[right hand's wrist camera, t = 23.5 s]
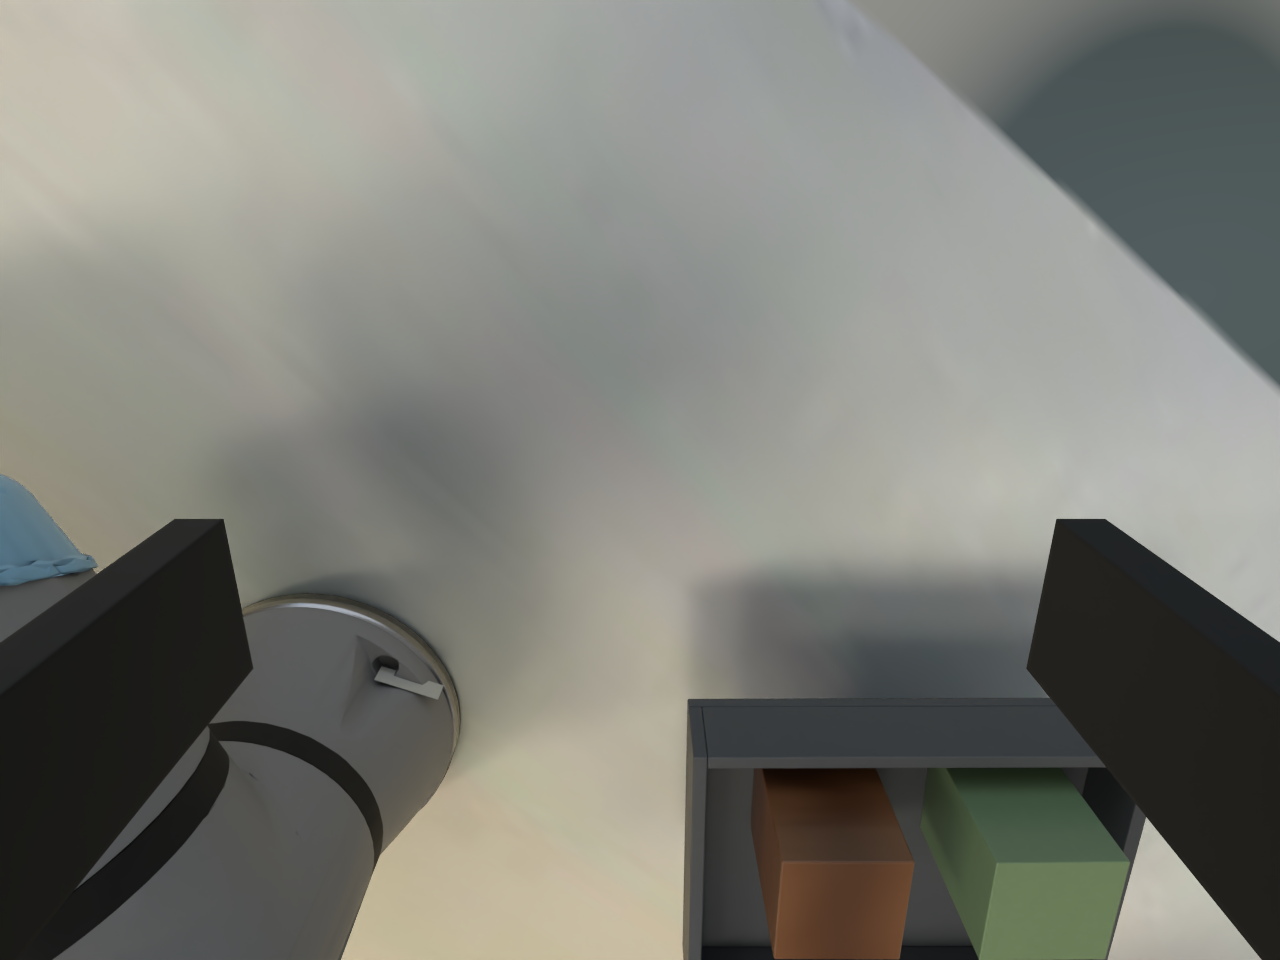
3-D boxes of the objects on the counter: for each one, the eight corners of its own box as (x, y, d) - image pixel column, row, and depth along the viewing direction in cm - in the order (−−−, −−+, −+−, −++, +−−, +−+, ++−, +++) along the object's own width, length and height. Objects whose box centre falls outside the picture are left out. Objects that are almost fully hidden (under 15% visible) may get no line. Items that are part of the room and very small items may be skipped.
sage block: (919, 827, 38) (979, 961, 31) (931, 740, 36) (996, 863, 29) (1024, 826, 38) (1105, 960, 31) (1040, 739, 36) (1131, 862, 29)
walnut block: (750, 825, 38) (773, 960, 31) (755, 739, 36) (781, 862, 29) (854, 826, 38) (900, 960, 31) (865, 739, 36) (916, 862, 29)
